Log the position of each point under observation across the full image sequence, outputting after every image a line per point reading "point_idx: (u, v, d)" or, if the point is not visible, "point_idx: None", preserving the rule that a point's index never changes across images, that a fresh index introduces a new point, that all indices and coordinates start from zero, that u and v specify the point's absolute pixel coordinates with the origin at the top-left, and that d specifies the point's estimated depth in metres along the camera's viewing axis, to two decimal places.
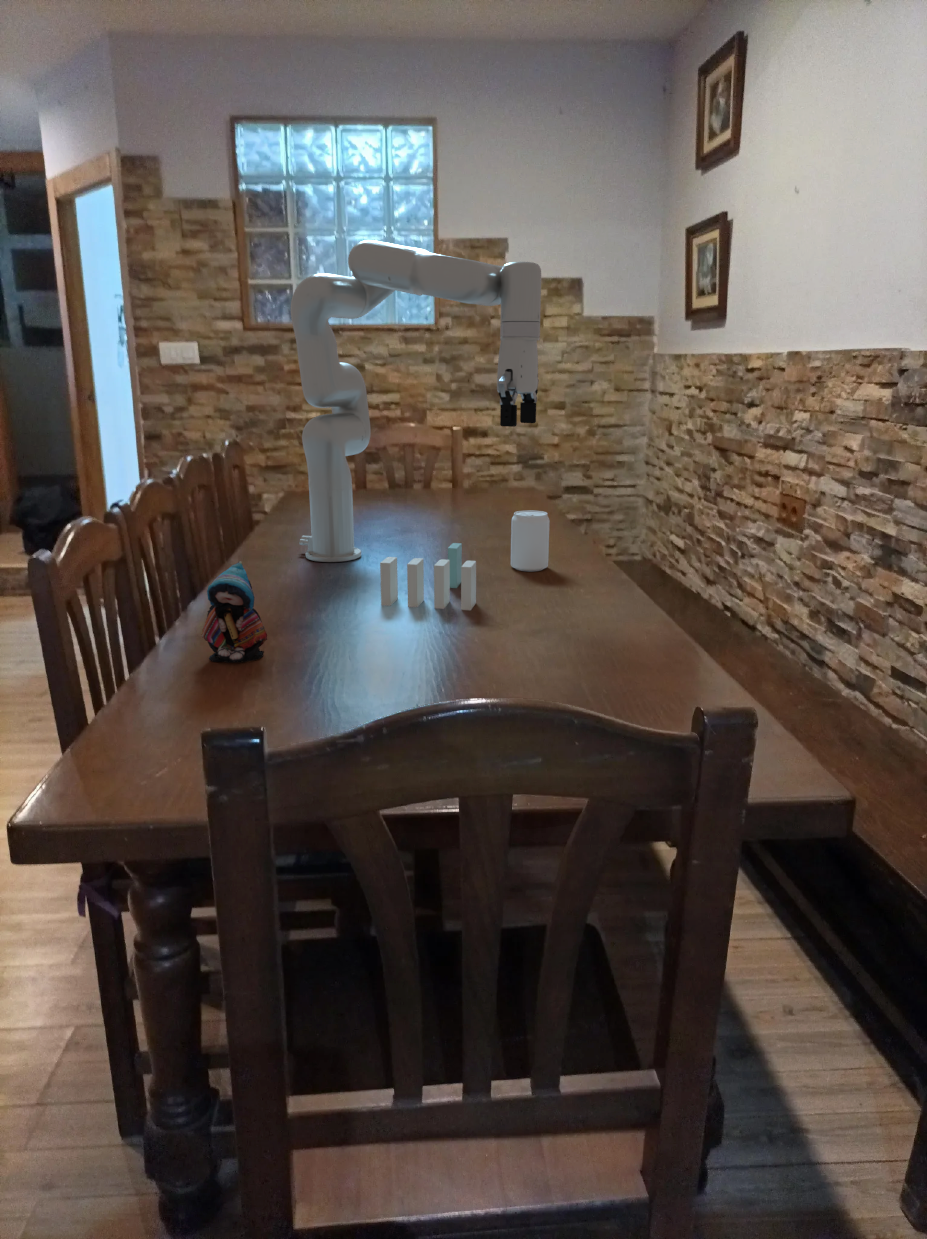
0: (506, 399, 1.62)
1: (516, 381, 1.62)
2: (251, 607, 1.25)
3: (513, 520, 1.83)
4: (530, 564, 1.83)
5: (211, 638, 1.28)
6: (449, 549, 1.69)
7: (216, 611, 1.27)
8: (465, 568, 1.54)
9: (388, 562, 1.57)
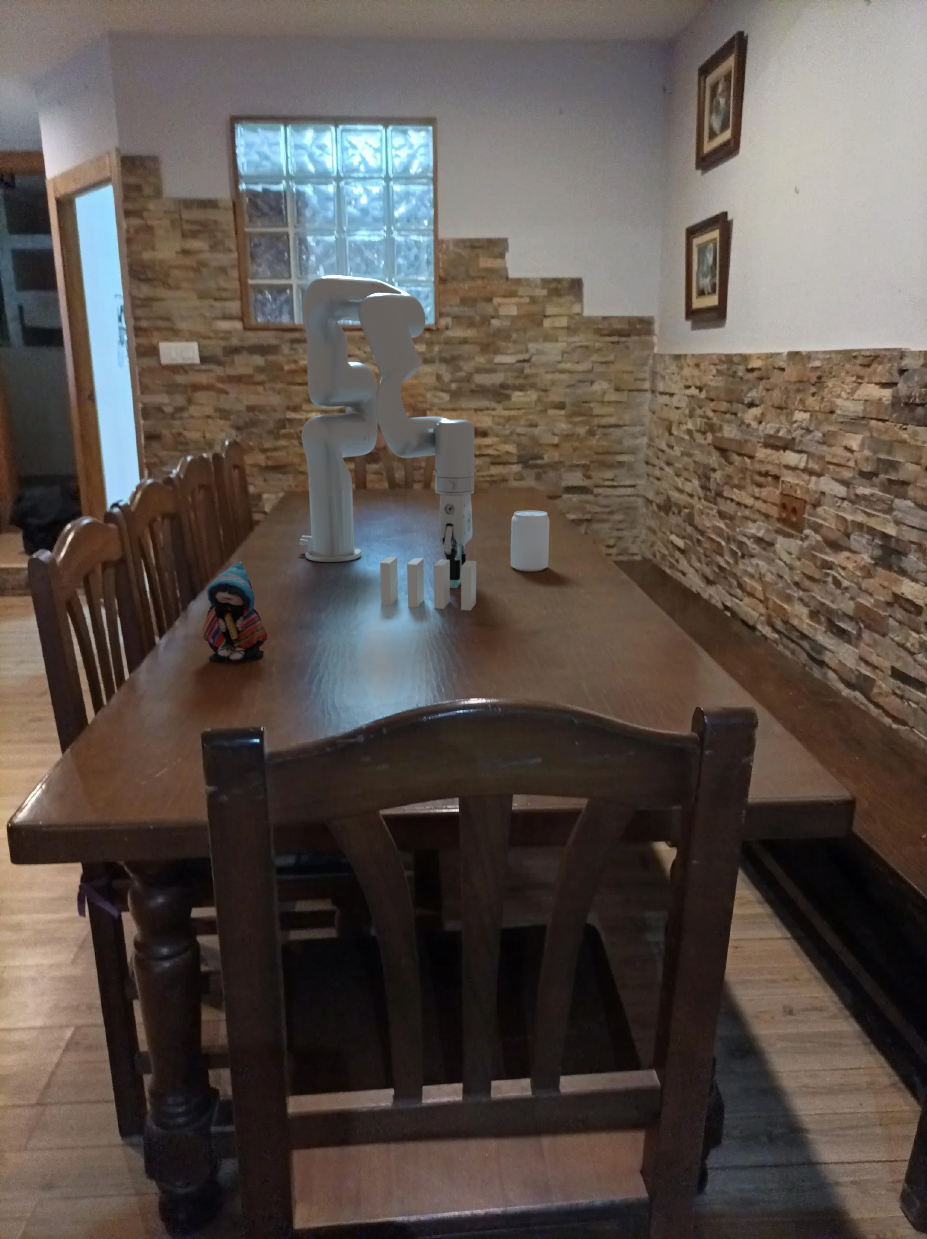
0: None
1: None
2: (251, 607, 1.25)
3: (513, 520, 1.83)
4: (530, 564, 1.83)
5: (211, 638, 1.28)
6: None
7: (216, 611, 1.27)
8: (465, 568, 1.54)
9: (388, 562, 1.57)
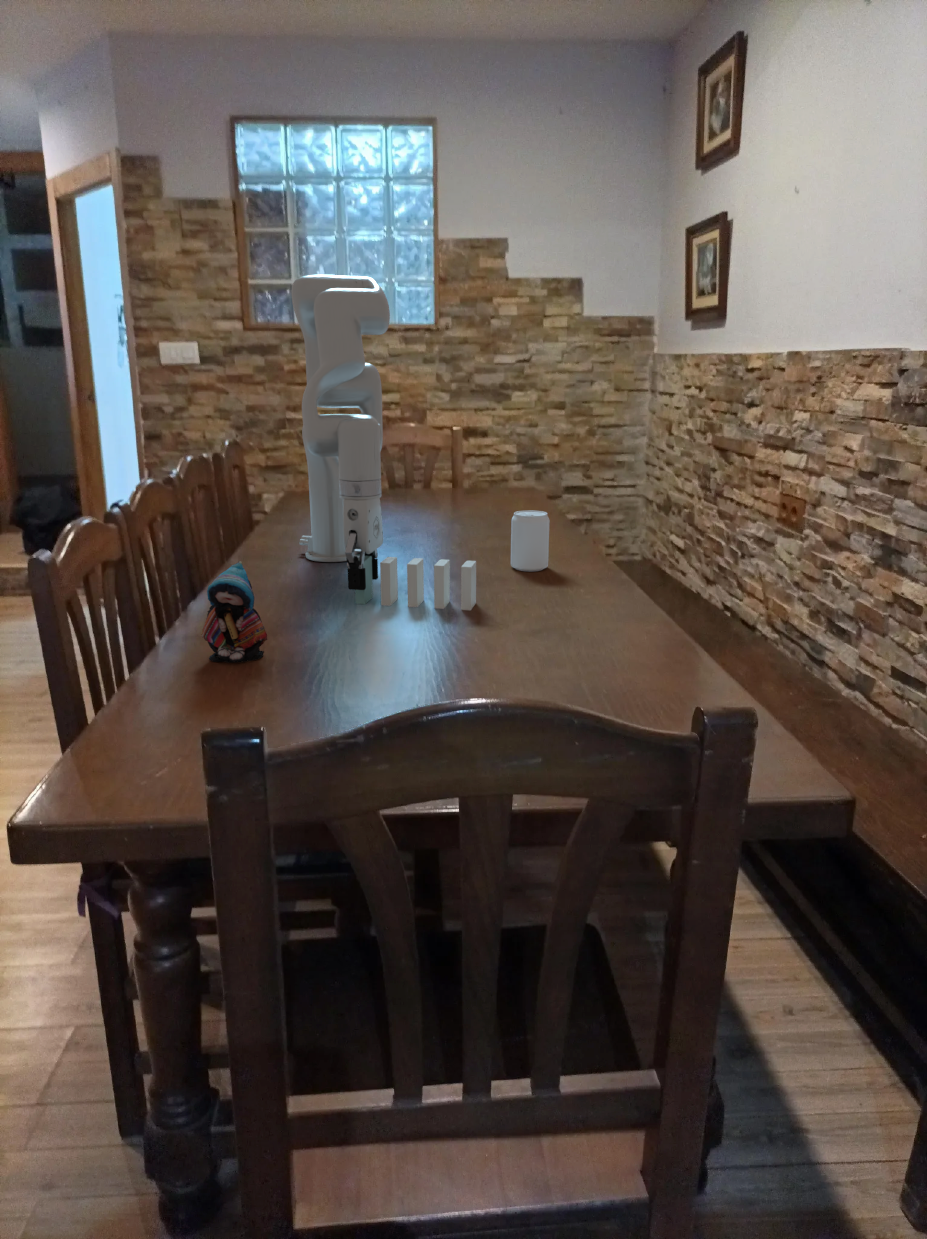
0: None
1: None
2: (251, 607, 1.25)
3: (513, 520, 1.83)
4: (530, 564, 1.83)
5: (211, 638, 1.28)
6: None
7: (216, 611, 1.27)
8: (465, 568, 1.54)
9: (388, 562, 1.57)
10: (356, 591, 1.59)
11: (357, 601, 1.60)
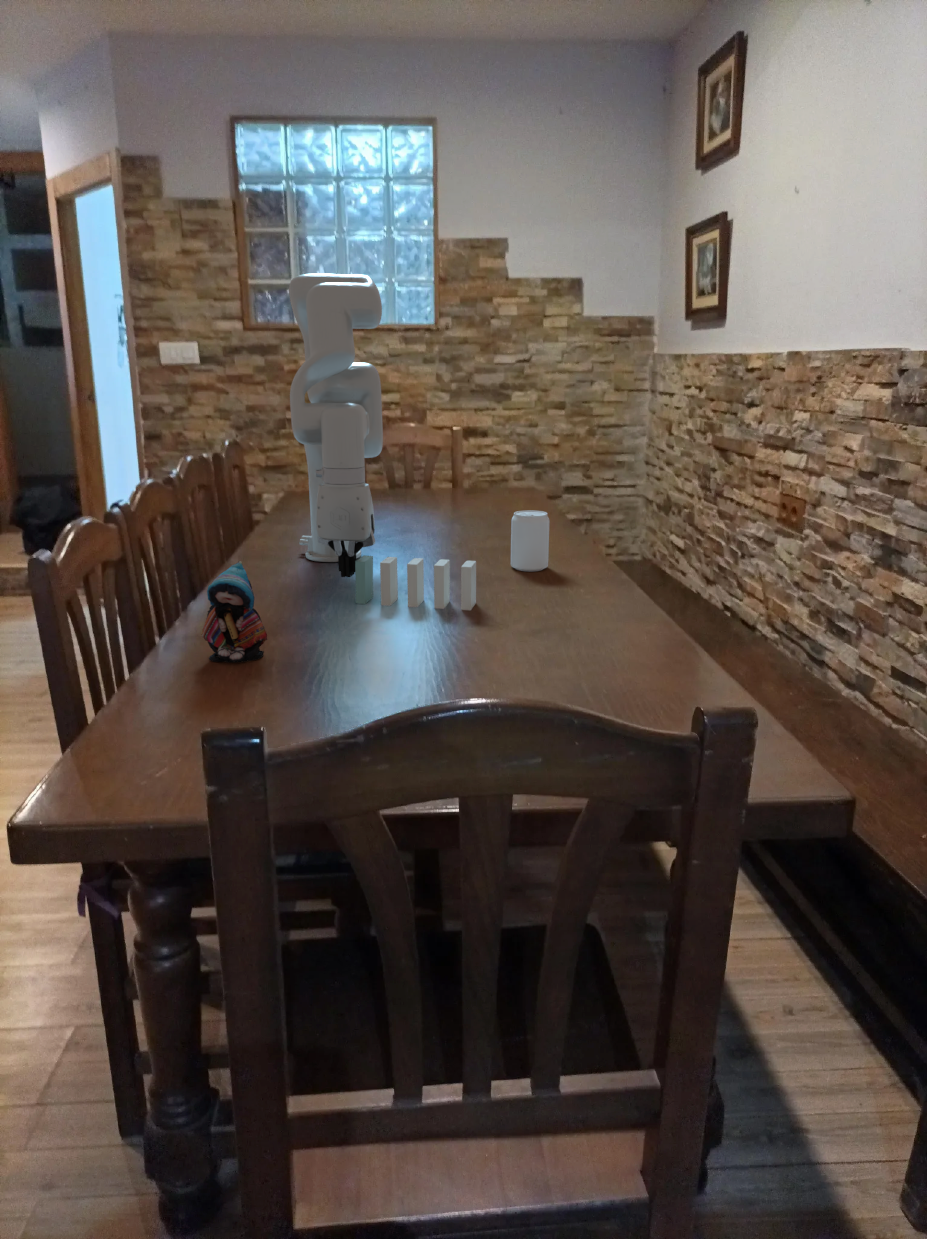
0: None
1: (374, 524, 1.59)
2: (251, 607, 1.25)
3: (513, 520, 1.83)
4: (530, 564, 1.83)
5: (211, 638, 1.28)
6: (357, 562, 1.58)
7: (216, 611, 1.27)
8: (465, 568, 1.54)
9: (388, 562, 1.57)
10: (356, 591, 1.59)
11: (357, 601, 1.60)
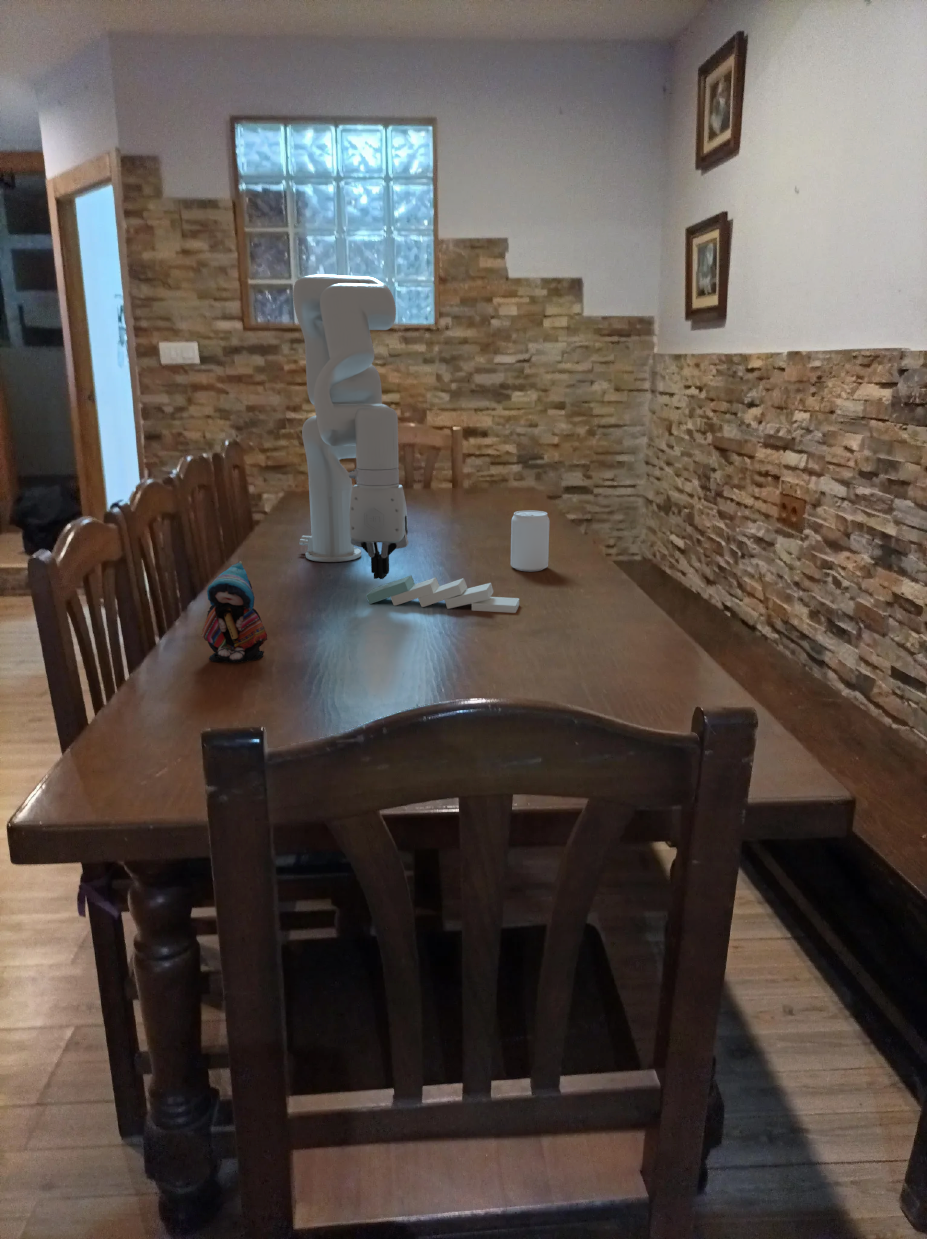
0: (393, 550, 1.59)
1: (407, 526, 1.58)
2: (251, 607, 1.25)
3: (513, 520, 1.83)
4: (530, 564, 1.83)
5: (211, 638, 1.28)
6: (404, 583, 1.57)
7: (216, 611, 1.27)
8: (514, 609, 1.54)
9: (433, 590, 1.57)
10: (377, 592, 1.58)
11: (368, 596, 1.59)
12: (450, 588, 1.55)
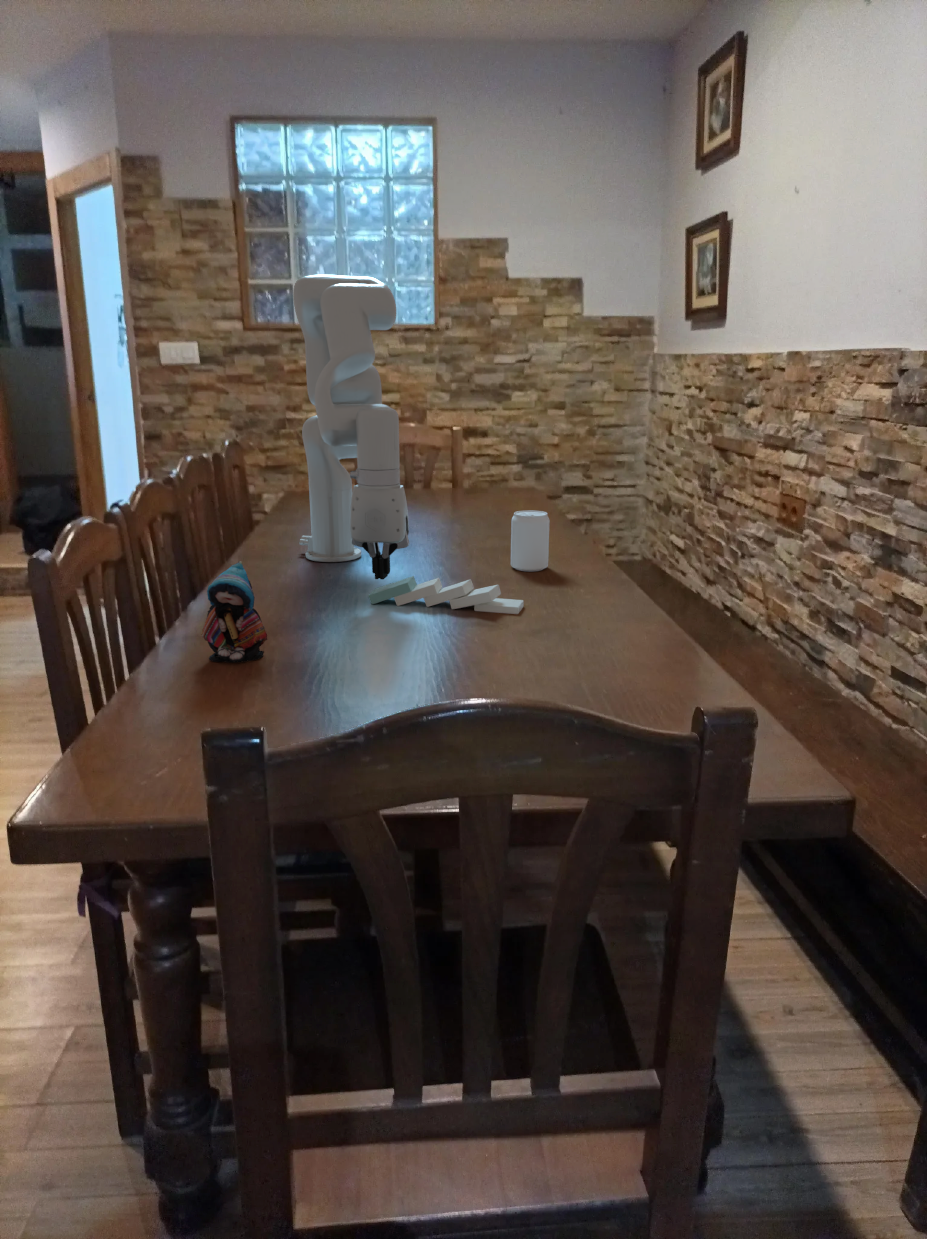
0: None
1: (408, 526, 1.58)
2: (251, 607, 1.25)
3: (513, 520, 1.83)
4: (530, 564, 1.83)
5: (211, 638, 1.28)
6: (406, 584, 1.57)
7: (216, 611, 1.27)
8: (516, 611, 1.54)
9: (437, 590, 1.57)
10: (380, 593, 1.58)
11: (370, 596, 1.59)
12: (454, 589, 1.55)
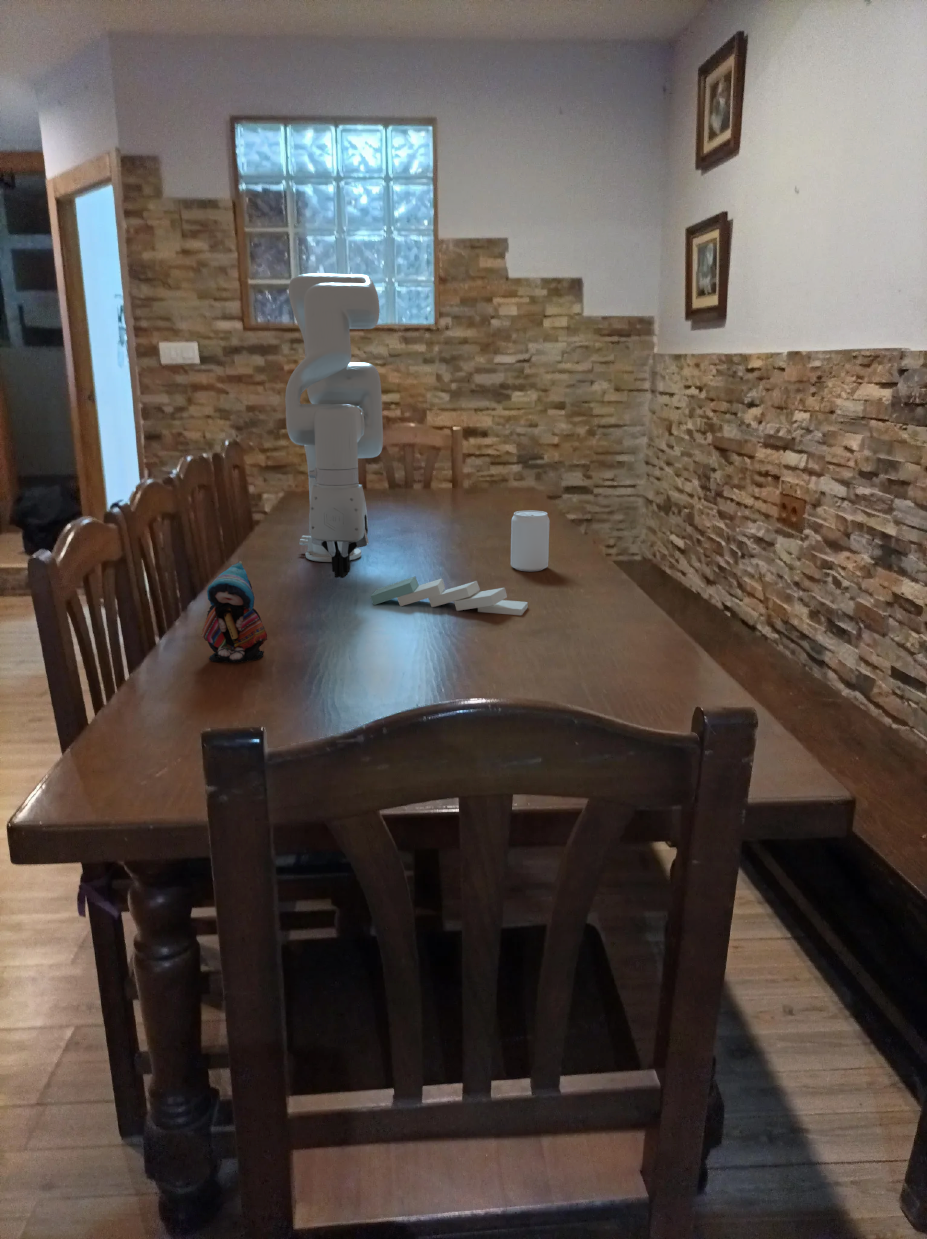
0: None
1: (367, 525, 1.59)
2: (251, 607, 1.25)
3: (513, 520, 1.83)
4: (530, 564, 1.83)
5: (211, 638, 1.28)
6: (409, 585, 1.57)
7: (216, 611, 1.27)
8: (519, 613, 1.53)
9: (440, 591, 1.57)
10: (382, 593, 1.58)
11: (373, 597, 1.59)
12: (458, 590, 1.54)
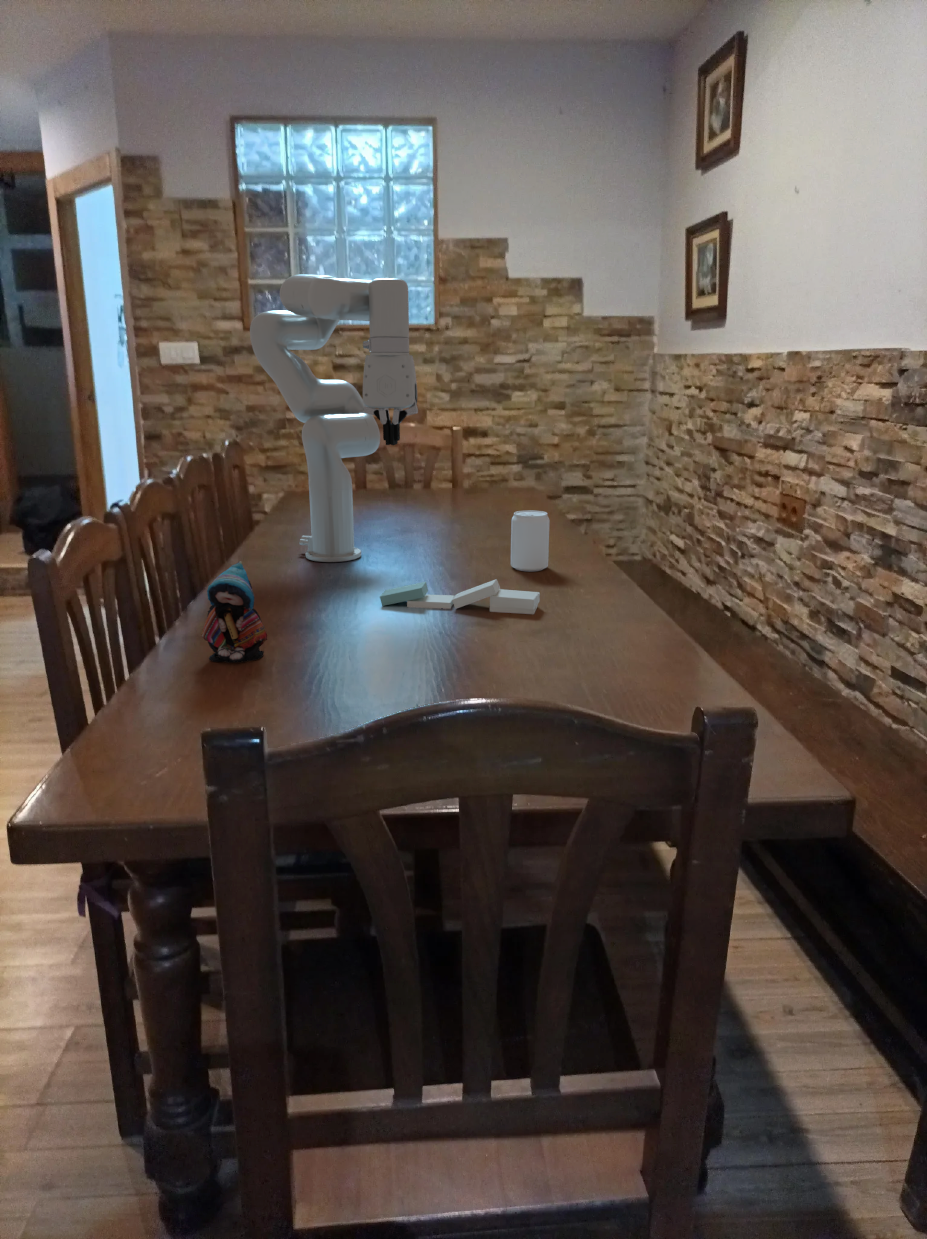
0: (403, 418, 1.70)
1: None
2: (251, 607, 1.25)
3: (513, 520, 1.83)
4: (530, 564, 1.83)
5: (211, 638, 1.28)
6: (420, 590, 1.57)
7: (216, 611, 1.27)
8: (532, 612, 1.54)
9: None
10: (392, 595, 1.57)
11: (382, 598, 1.58)
12: (484, 588, 1.54)
